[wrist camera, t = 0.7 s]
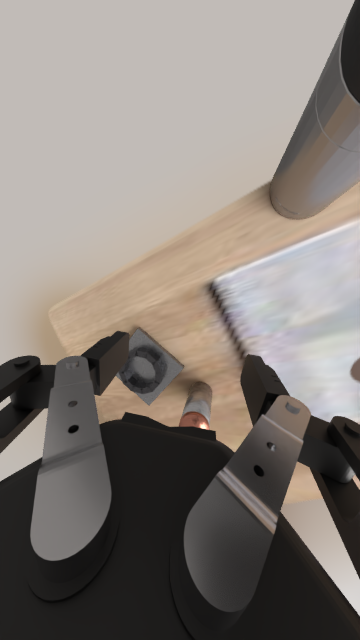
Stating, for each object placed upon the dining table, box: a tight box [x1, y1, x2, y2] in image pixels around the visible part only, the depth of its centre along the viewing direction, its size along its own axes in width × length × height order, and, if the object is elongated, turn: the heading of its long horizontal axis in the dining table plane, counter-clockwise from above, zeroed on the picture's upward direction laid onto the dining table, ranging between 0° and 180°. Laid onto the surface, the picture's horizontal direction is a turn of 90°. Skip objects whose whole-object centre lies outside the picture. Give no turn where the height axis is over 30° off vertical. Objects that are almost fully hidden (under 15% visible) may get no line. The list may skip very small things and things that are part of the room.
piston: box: [179, 382, 212, 430], centre depth 31 cm, size 4×4×10 cm
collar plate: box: [116, 328, 184, 405], centre depth 37 cm, size 12×12×3 cm
